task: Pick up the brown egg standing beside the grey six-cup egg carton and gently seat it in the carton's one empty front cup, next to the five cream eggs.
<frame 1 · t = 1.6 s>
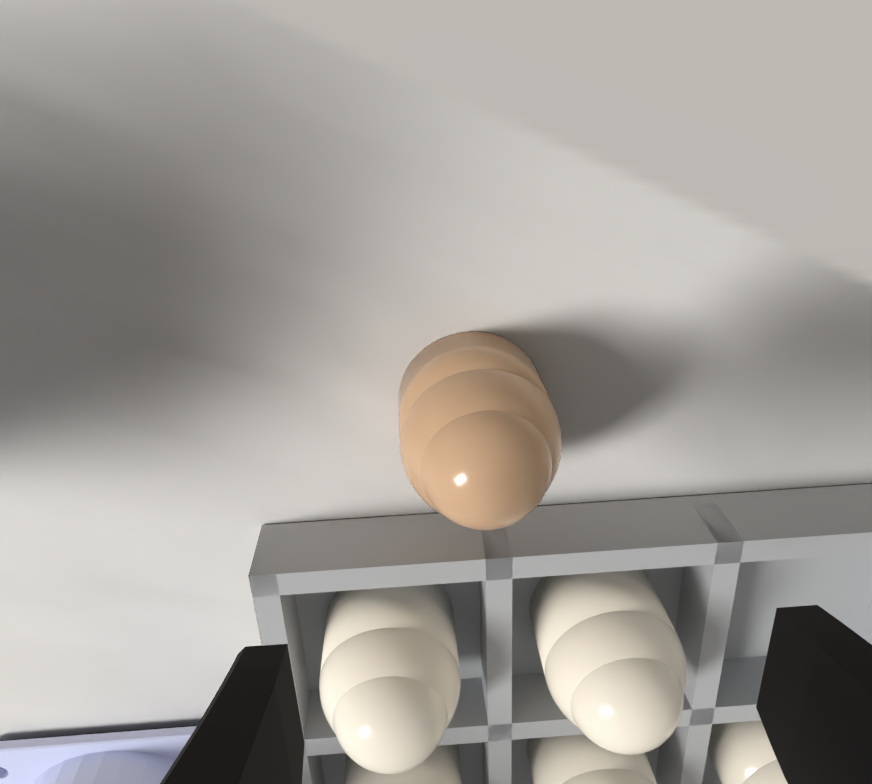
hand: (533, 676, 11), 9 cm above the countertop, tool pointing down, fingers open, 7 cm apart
egg carton: (583, 667, 24), on the countertop
brown egg: (470, 398, 19), on the countertop
cream eggs: (583, 667, 24), resting on egg carton
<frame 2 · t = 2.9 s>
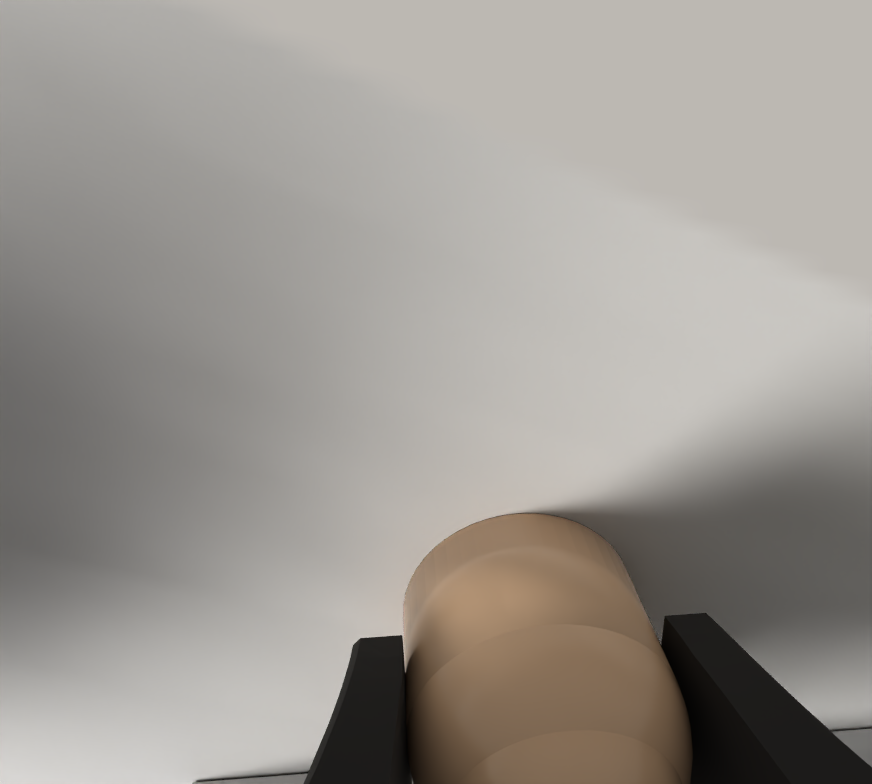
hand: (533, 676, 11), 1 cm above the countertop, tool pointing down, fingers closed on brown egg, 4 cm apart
brown egg: (517, 608, 12), on the countertop, touching gripper
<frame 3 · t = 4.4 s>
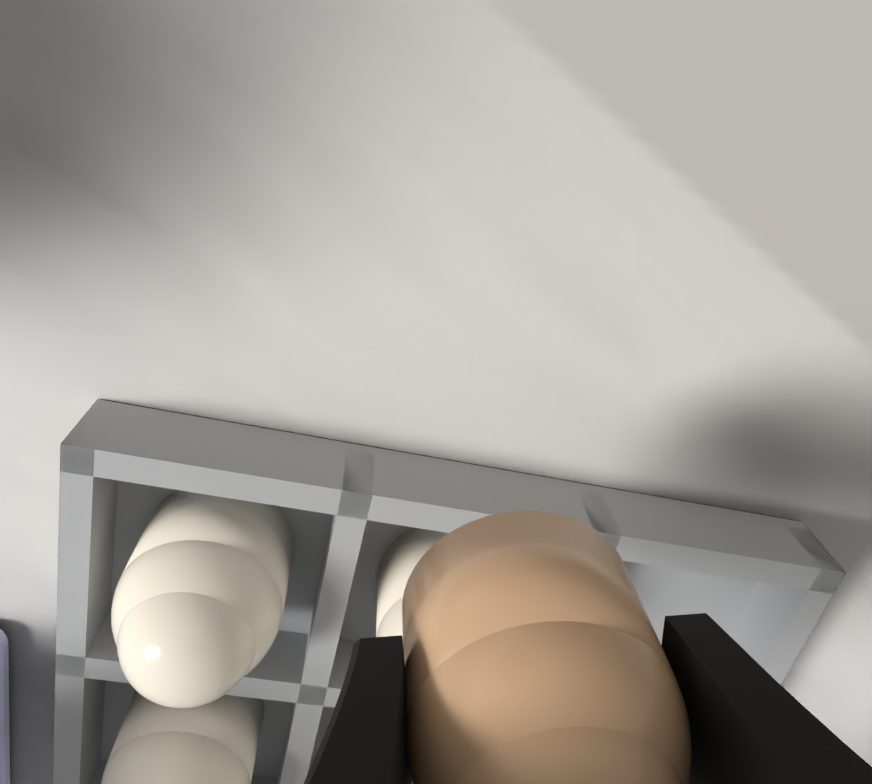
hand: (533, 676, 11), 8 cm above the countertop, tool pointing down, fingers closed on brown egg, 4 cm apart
egg carton: (421, 648, 22), on the countertop
brown egg: (516, 605, 12), point 7 cm above the countertop, touching gripper
cream eggs: (421, 648, 22), resting on egg carton
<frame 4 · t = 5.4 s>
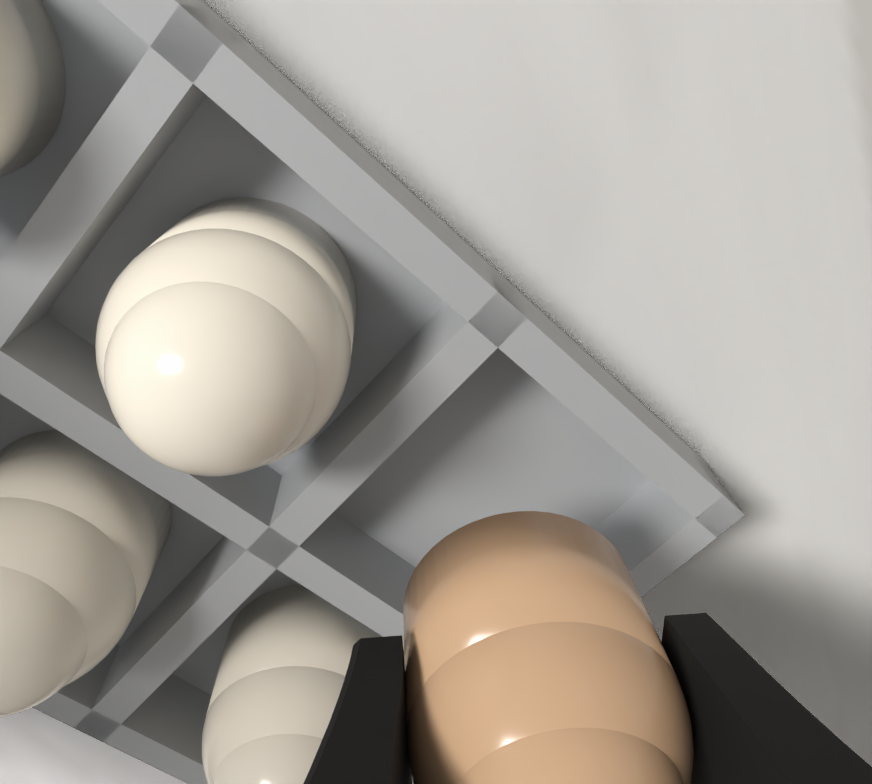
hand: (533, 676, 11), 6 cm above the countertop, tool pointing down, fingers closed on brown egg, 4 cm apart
egg carton: (166, 402, 15), on the countertop
brown egg: (517, 606, 12), point 4 cm above the countertop, touching gripper
cream eggs: (166, 402, 15), resting on egg carton
when the fingers open (4 cm above the countertop, at t = 6.1 s): brown egg drops 2 cm, resting on egg carton.
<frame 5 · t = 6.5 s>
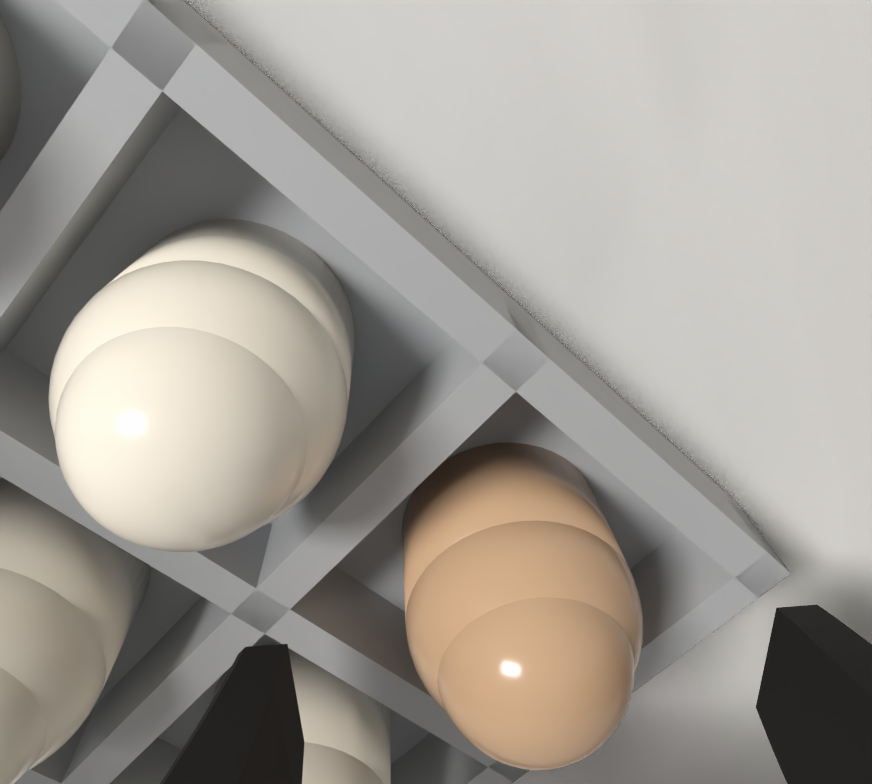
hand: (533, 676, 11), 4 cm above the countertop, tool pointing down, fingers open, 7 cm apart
egg carton: (143, 444, 13), on the countertop
brown egg: (500, 528, 14), resting on egg carton
cream eggs: (143, 444, 13), resting on egg carton
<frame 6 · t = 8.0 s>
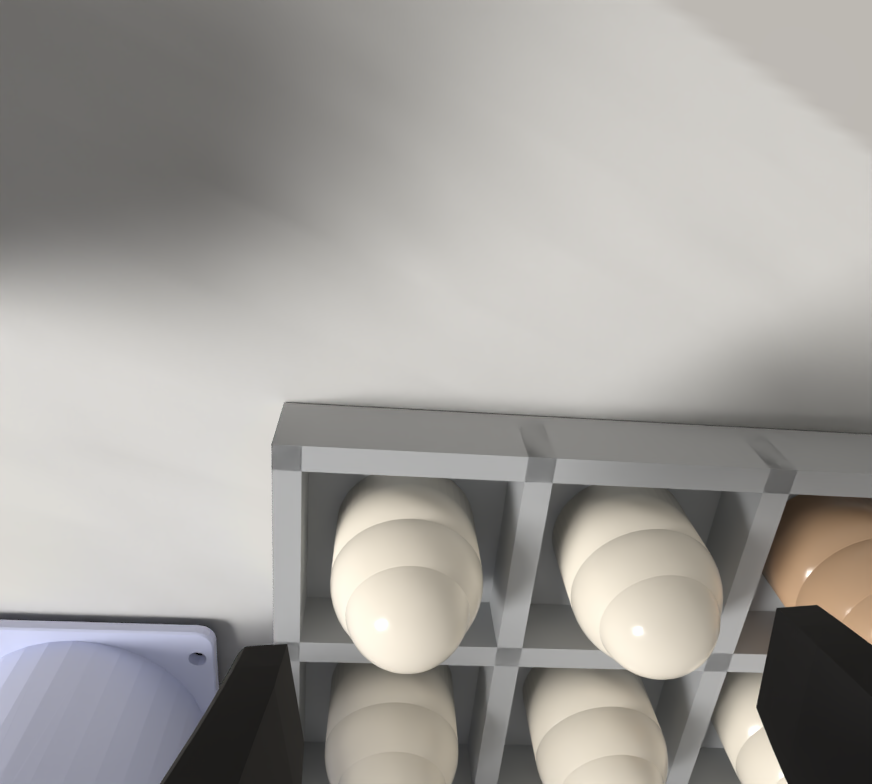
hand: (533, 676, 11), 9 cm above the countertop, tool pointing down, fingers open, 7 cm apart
egg carton: (595, 605, 23), on the countertop
brown egg: (819, 540, 21), resting on egg carton
cream eggs: (595, 605, 23), resting on egg carton
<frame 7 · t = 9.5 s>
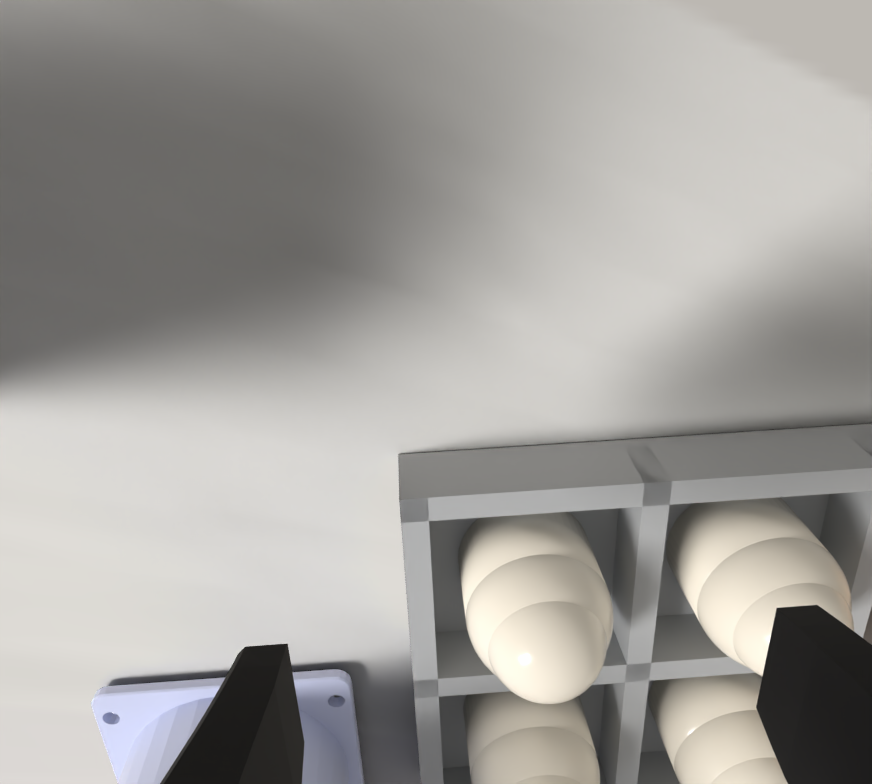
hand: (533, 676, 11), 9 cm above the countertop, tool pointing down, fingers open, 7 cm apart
egg carton: (712, 611, 23), on the countertop
cream eggs: (712, 611, 23), resting on egg carton
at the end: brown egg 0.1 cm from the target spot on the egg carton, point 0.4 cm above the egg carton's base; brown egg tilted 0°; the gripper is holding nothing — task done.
